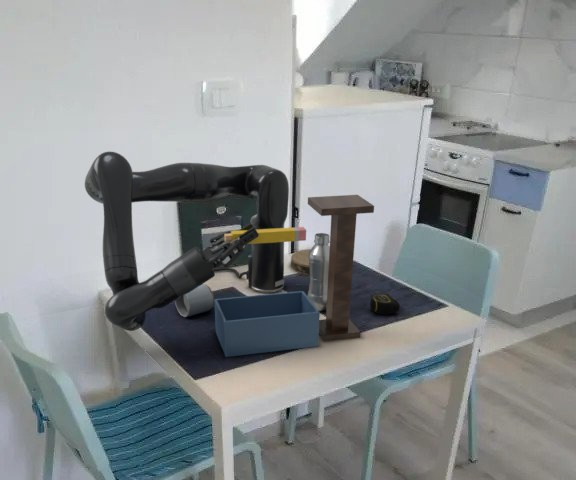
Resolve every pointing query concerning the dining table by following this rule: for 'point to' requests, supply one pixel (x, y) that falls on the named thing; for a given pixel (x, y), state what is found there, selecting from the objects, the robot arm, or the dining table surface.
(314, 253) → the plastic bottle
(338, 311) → the shelf stand
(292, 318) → the blue open rectangular box
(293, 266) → the brown flat round disc
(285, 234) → the pencil
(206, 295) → the ceramic mug
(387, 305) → the tape measure
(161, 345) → the dining table surface
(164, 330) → the dining table surface
